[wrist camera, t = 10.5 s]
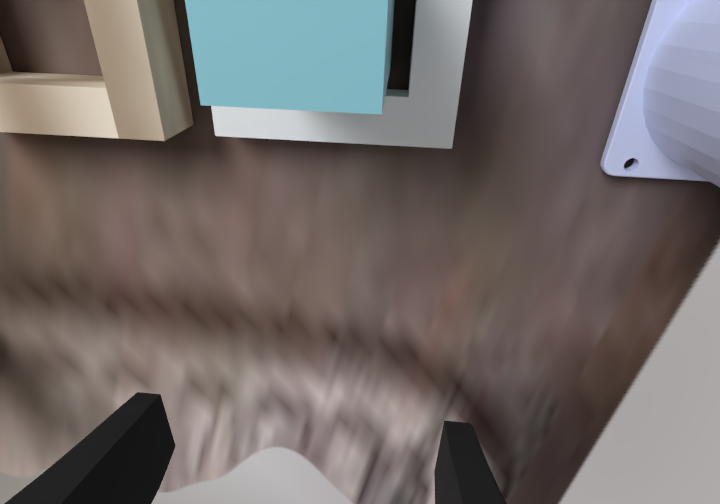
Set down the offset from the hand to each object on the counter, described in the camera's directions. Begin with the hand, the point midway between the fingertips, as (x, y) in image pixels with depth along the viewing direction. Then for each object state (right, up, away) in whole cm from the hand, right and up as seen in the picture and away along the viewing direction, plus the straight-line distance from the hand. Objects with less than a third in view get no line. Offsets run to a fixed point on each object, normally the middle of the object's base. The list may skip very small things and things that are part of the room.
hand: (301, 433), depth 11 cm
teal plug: (+1, +13, +4) cm, 14 cm away
